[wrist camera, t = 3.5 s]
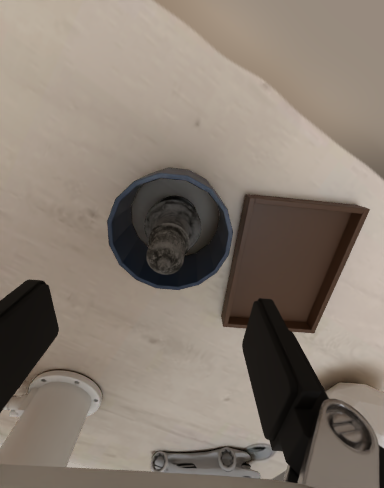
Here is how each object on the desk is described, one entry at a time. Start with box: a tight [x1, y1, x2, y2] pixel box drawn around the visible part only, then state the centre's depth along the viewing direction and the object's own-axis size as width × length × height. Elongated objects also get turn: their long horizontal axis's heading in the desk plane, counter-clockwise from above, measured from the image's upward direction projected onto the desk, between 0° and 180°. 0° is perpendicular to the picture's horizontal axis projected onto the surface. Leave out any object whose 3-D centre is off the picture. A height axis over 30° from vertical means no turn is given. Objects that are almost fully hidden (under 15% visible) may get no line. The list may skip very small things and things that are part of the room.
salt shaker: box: [145, 196, 201, 275], centre depth 19 cm, size 6×6×12 cm
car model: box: [151, 447, 260, 479], centre depth 46 cm, size 11×24×5 cm, turn 95°
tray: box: [221, 194, 370, 333], centre depth 27 cm, size 13×18×2 cm
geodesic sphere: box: [326, 382, 384, 448], centre depth 31 cm, size 15×14×14 cm
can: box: [107, 168, 233, 290], centre depth 22 cm, size 11×11×6 cm
